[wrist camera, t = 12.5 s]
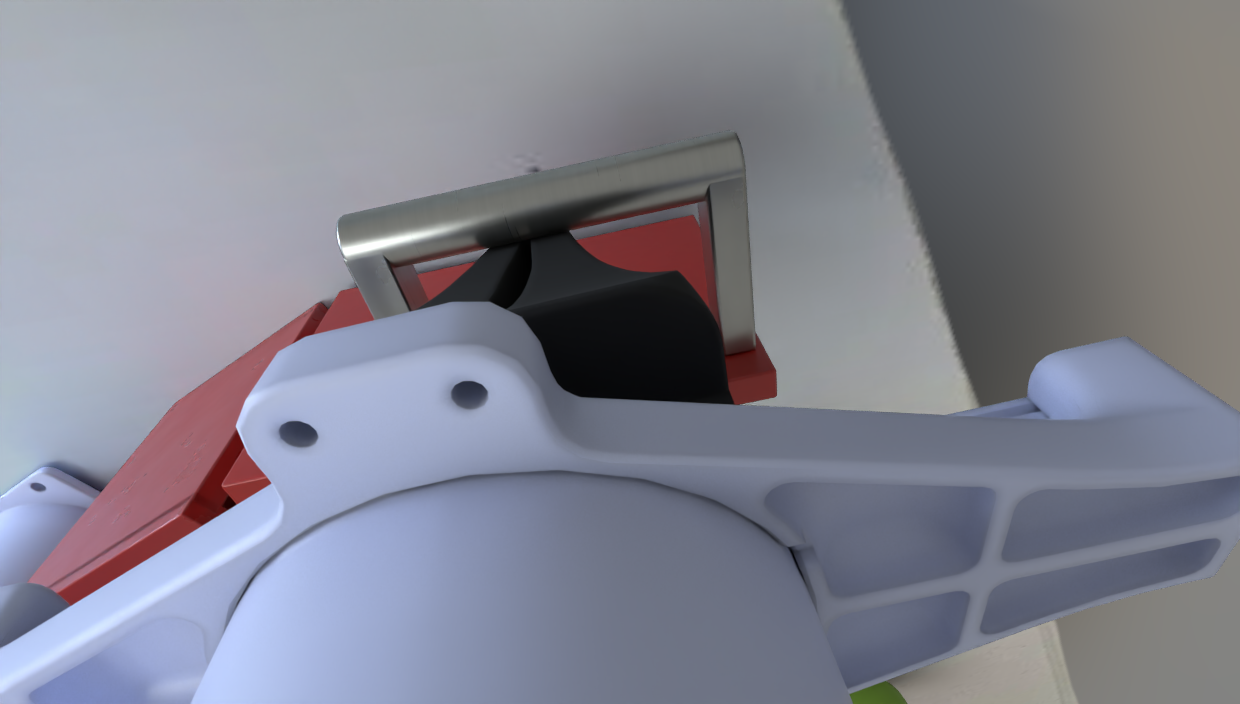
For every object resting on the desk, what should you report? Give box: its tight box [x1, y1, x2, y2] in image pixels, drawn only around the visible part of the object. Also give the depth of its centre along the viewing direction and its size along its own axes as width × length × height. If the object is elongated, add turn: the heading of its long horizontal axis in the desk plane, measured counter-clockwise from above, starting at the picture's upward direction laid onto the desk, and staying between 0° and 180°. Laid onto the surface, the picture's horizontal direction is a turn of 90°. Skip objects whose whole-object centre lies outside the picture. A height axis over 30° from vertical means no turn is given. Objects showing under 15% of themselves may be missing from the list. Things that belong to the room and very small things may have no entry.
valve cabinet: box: [27, 303, 329, 606], centre depth 21 cm, size 8×13×10 cm, turn 32°
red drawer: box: [222, 130, 777, 504], centre depth 15 cm, size 6×13×9 cm, turn 101°
